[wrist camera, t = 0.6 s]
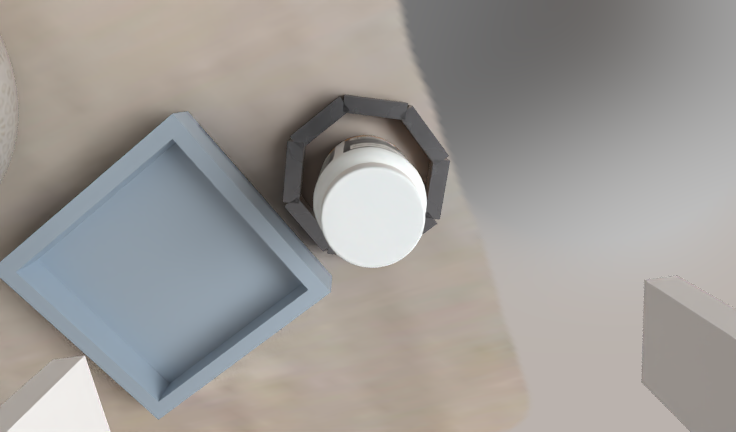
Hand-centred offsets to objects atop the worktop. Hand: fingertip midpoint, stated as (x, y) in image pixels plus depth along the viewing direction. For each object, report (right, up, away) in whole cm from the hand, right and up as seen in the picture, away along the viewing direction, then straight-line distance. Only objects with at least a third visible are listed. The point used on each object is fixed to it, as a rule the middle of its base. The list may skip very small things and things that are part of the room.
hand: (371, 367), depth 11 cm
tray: (-13, 0, +20) cm, 24 cm away
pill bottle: (0, +6, +19) cm, 20 cm away
